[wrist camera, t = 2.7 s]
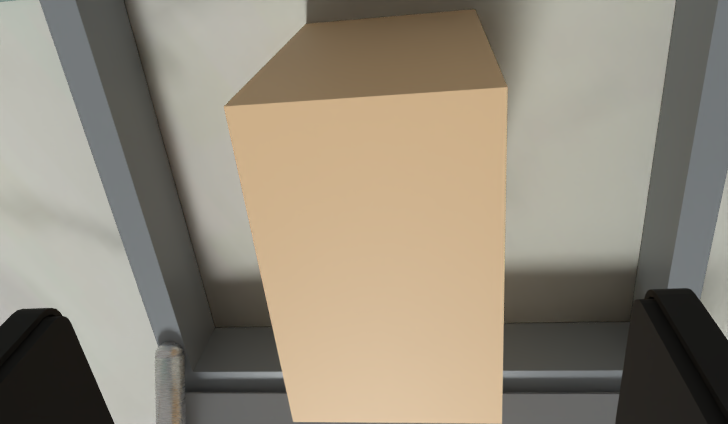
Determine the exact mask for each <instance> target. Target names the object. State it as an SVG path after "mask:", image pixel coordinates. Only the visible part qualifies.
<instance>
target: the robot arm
mask: <svg viewBox="0 0 728 424" xmlns="http://www.w3.org/2000/svg"><path fill="white" fill-rule="evenodd" d="M0 424H114V422H113V419H112V417H111V415H110V412H109V410H108V408H107V406H106V403H105V401H104V399H103V396H102V394H101V392H100V389H99V387H98V385H97V382H96V380H95V378H94V375H93V373H92V371H91V368H90V366H89V364H88V361H87V359H86V357H85V354H84V352H83V350H82V347H81V345H80V343H79V340H78V338H77V336H76V334H75V331H74V329H73V327H72V324H71V322H70V321H69V319H68V318H66V317H64V316H62V314H61V313H60V312H59V311H58V310H57V309H53V308H38V309H21V310H17V311H16V312H15V313H13V314H12V315H11V316H10V317H9V318H8V319H7V320H6V321H5V322H4V323H3V324H2V325H1V326H0ZM615 424H728V340H727V339H726V337H725V336H724V334H723V333H722V331H721V330H720V328H719V327H718V326H717V324H716V323H715V321H714V320H713V318H712V317H711V316H710V314H709V313H708V311H707V310H706V308H705V307H704V306H703V304H702V303H701V301H700V300H699V298H698V297H697V296H696V294H695V293H694V292H693V291H692V290H691V289H689V288H674V289H650V290H648V291H647V292H646V294H645V297H644V299H636V300H635V301H634V302H633V306H632V312H631V319H630V325H629V332H628V339H627V346H626V352H625V359H624V366H623V373H622V379H621V386H620V393H619V400H618V406H617V413H616V420H615Z"/></svg>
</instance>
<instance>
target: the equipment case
mask: <svg viewBox="0 0 728 424" xmlns="http://www.w3.org/2000/svg"><path fill="white" fill-rule="evenodd" d="M39 1H40V3H41V6H42V9H43V12H44V15H45V18H46V21H47V24H48V27H49V30H50V33H51V36H52V38H53V41H54V44H55V47H56V50H57V53H58V56H59V59H60V62H61V65H62V68H63V70H64V73H65V76H66V79H67V82H68V85H69V88H70V91H71V94H72V97H73V100H74V102H75V105H76V108H77V111H78V114H79V117H80V120H81V123H82V126H83V129H84V132H85V135H86V137H87V140H88V143H89V146H90V149H91V152H92V155H93V158H94V161H95V164H96V167H97V169H98V172H99V175H100V178H101V181H102V184H103V187H104V190H105V193H106V196H107V199H108V202H109V204H110V207H111V210H112V213H113V216H114V219H115V222H116V225H117V228H118V231H119V234H120V236H121V239H122V242H123V245H124V248H125V251H126V254H127V257H128V260H129V263H130V266H131V268H132V271H133V274H134V277H135V280H136V283H137V286H138V289H139V292H140V295H141V298H142V301H143V303H144V306H145V309H146V312H147V315H148V318H149V321H150V324H151V327H152V330H153V333H154V335H155V338H156V341H157V344H158V348H157V350H156V353H155V392H156V424H484V423H359V422H293V419H292V414H291V410H290V405H289V401H288V396H287V392H286V387H285V383H284V378H283V373H282V369H281V364H280V360H279V355H278V351H277V346H276V342H275V337H274V332H273V328H272V327H244V328H215V326H214V323H213V319H212V316H211V312H210V309H209V305H208V301H207V298H206V294H205V291H204V287H203V283H202V280H201V276H200V273H199V269H198V266H197V262H196V258H195V255H194V251H193V248H192V244H191V240H190V237H189V233H188V230H187V226H186V223H185V219H184V215H183V212H182V208H181V205H180V201H179V197H178V194H177V190H176V187H175V183H174V180H173V176H172V172H171V169H170V165H169V162H168V158H167V154H166V151H165V147H164V144H163V140H162V137H161V133H160V129H159V126H158V122H157V119H156V115H155V111H154V108H153V104H152V101H151V97H150V93H149V90H148V86H147V83H146V79H145V76H144V72H143V68H142V65H141V61H140V58H139V54H138V50H137V47H136V43H135V40H134V36H133V33H132V29H131V25H130V22H129V18H128V15H127V11H126V7H125V4H124V0H39ZM727 170H728V0H676V7H675V14H674V21H673V28H672V35H671V41H670V48H669V55H668V62H667V69H666V76H665V83H664V90H663V97H662V104H661V111H660V117H659V124H658V131H657V138H656V145H655V152H654V159H653V166H652V173H651V180H650V187H649V194H648V200H647V207H646V214H645V221H644V228H643V235H642V242H641V249H640V256H639V263H638V270H637V276H636V283H635V290H634V297H633V302H634V301H635V300H636V299H644V297H645V294H646V292H647V291H648V290H650V289H674V288H689V289H691V290H692V291H693V292H694V293H695V294H696V296H697V297H698V298H699V300H700V297H701V293H702V288H703V283H704V278H705V274H706V269H707V264H708V260H709V255H710V250H711V245H712V241H713V236H714V231H715V226H716V222H717V217H718V212H719V207H720V203H721V198H722V193H723V189H724V184H725V179H726V174H727ZM632 306H633V304H632ZM631 312H632V311H631ZM630 319H631V318H630ZM629 325H630V322H586V323H518V324H504V334H503V395H502V424H615V420H616V413H617V406H618V400H619V393H620V386H621V379H622V373H623V366H624V359H625V352H626V346H627V339H628V332H629Z"/></svg>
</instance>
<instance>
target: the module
mask: <svg viewBox="0 0 728 424" xmlns="http://www.w3.org/2000/svg"><path fill="white" fill-rule="evenodd" d="M507 89H508V87H507V85H506V82H505V80H504V77H503V75H502V73H501V70H500V68H499V65H498V63H497V61H496V58H495V56H494V54H493V51H492V49H491V46H490V44H489V42H488V39H487V37H486V34H485V32H484V30H483V27H482V25H481V22H480V20H479V18H478V15H477V13H476V10H475V9H470V10H459V11H447V12H436V13H424V14H413V15H401V16H390V17H378V18H366V19H355V20H343V21H332V22H320V23H309V24H305V25H304V26H303V27H302V28H301V29H300V30H299V31H298V32H297V33H296V34H295V35H294V36H293V37H292V38H291V39H290V41H289V42H288V43H287V44H286V45H285V46H284V47H283V48H282V49H281V50H280V51H279V52H278V53H277V54H276V55H275V56H274V57H273V58H272V59H271V60H270V61H269V62H268V63H267V64H266V65H265V66H264V67H263V68H262V69H261V70H260V71H259V72H258V73H257V74H256V75H255V76H254V77H253V78H252V79H251V80H250V81H249V82H248V83H247V84H246V85H245V86H244V87H243V88H242V89H241V90H240V91H239V92H238V93H237V94H236V95H235V96H234V97H233V98H232V99H231V100H230V101H229V102H228V103H227V104H226V105H225V106H224V110H225V114H226V119H227V123H228V128H229V132H230V137H231V141H232V146H233V151H234V155H235V160H236V164H237V169H238V173H239V178H240V182H241V187H242V191H243V196H244V201H245V205H246V210H247V214H248V219H249V223H250V228H251V232H252V237H253V242H254V246H255V251H256V255H257V260H258V264H259V269H260V273H261V278H262V282H263V287H264V292H265V296H266V301H267V305H268V310H269V314H270V319H271V323H272V328H273V332H274V337H275V342H276V346H277V351H278V355H279V360H280V364H281V369H282V373H283V378H284V383H285V387H286V392H287V396H288V401H289V405H290V410H291V414H292V419H293V422H359V423H484V424H502V395H503V334H504V273H505V212H506V151H507Z"/></svg>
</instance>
